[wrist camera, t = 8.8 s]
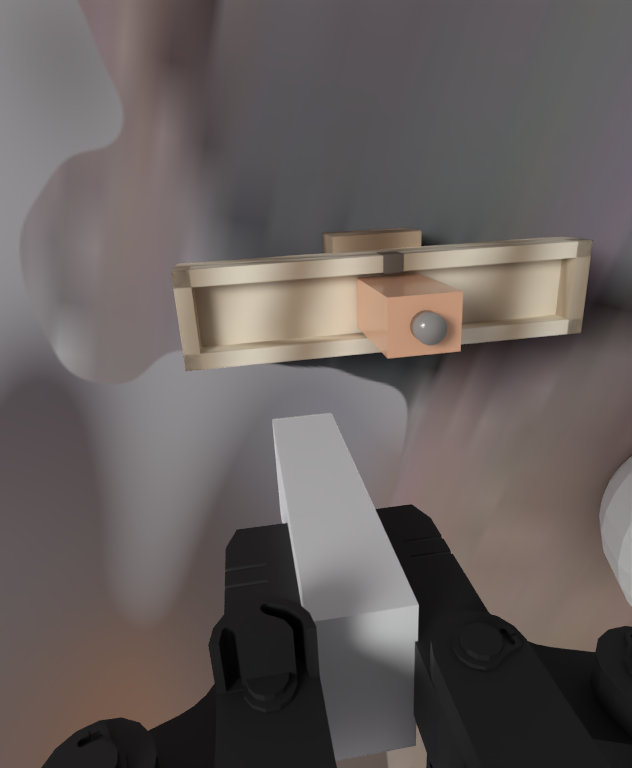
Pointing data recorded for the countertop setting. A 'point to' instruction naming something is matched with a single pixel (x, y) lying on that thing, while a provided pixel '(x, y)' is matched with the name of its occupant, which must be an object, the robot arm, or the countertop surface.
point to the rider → (409, 314)
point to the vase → (619, 526)
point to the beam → (339, 294)
